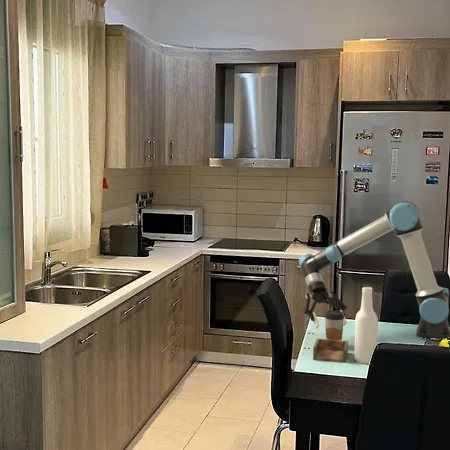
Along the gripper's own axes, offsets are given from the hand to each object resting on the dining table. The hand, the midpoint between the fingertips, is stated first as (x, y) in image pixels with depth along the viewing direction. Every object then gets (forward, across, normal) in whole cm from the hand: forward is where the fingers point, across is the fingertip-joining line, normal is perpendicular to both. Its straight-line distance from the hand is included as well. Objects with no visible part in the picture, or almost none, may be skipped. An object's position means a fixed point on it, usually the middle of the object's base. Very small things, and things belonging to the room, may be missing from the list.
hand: (331, 325), depth 259 cm
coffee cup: (+7, -1, -6) cm, 9 cm away
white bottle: (+22, -3, +10) cm, 25 cm away
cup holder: (+15, +7, +3) cm, 17 cm away
